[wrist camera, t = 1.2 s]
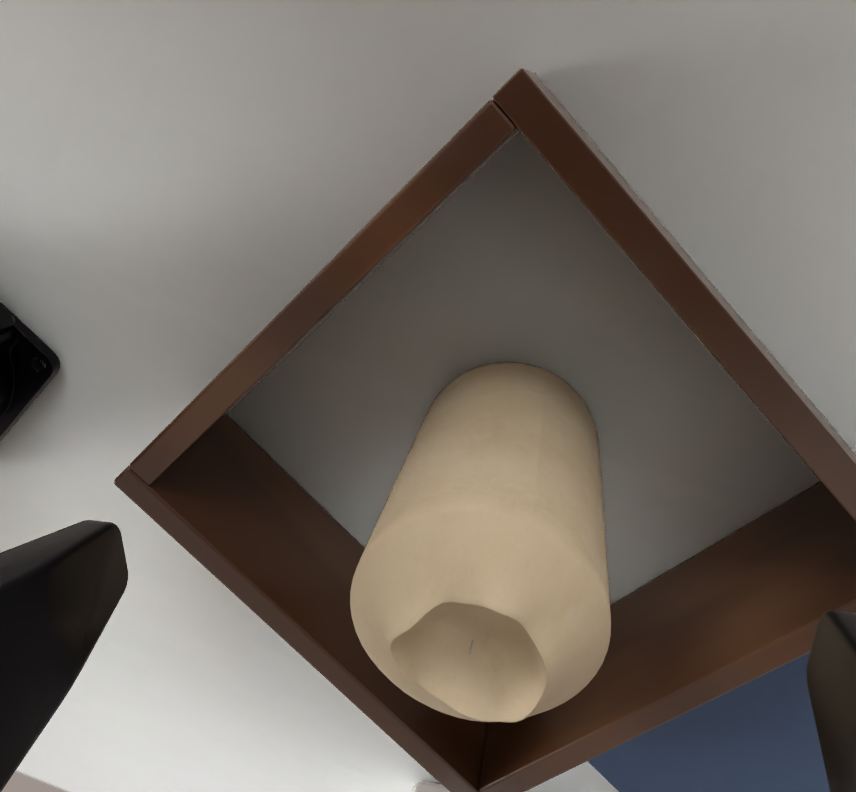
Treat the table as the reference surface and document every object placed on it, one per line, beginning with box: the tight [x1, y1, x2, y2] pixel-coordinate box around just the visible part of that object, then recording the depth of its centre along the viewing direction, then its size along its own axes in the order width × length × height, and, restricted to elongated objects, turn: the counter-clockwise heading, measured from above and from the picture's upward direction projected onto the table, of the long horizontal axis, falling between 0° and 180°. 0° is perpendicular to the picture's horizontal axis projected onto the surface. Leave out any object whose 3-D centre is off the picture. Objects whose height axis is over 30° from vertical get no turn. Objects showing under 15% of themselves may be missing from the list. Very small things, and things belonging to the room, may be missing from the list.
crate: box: [114, 68, 856, 792], centre depth 21 cm, size 15×15×5 cm
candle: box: [350, 363, 611, 723], centre depth 18 cm, size 6×6×10 cm
